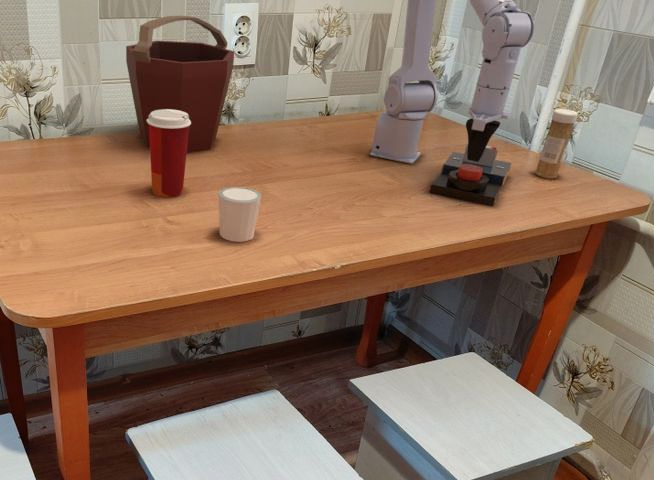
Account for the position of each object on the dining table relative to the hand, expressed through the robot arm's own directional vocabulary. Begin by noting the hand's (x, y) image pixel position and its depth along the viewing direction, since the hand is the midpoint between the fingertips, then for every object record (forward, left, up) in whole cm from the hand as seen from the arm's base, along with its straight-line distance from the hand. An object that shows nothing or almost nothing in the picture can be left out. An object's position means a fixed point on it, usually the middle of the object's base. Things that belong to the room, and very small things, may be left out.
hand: (473, 160), depth 134 cm
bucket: (-62, -5, -7) cm, 63 cm away
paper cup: (-48, -33, -7) cm, 59 cm away
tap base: (0, +11, -7) cm, 13 cm away
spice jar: (+13, +22, -7) cm, 26 cm away
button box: (0, 0, -7) cm, 7 cm away
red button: (0, 0, -4) cm, 4 cm away
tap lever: (0, +11, -4) cm, 12 cm away
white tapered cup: (-29, -43, -7) cm, 52 cm away
